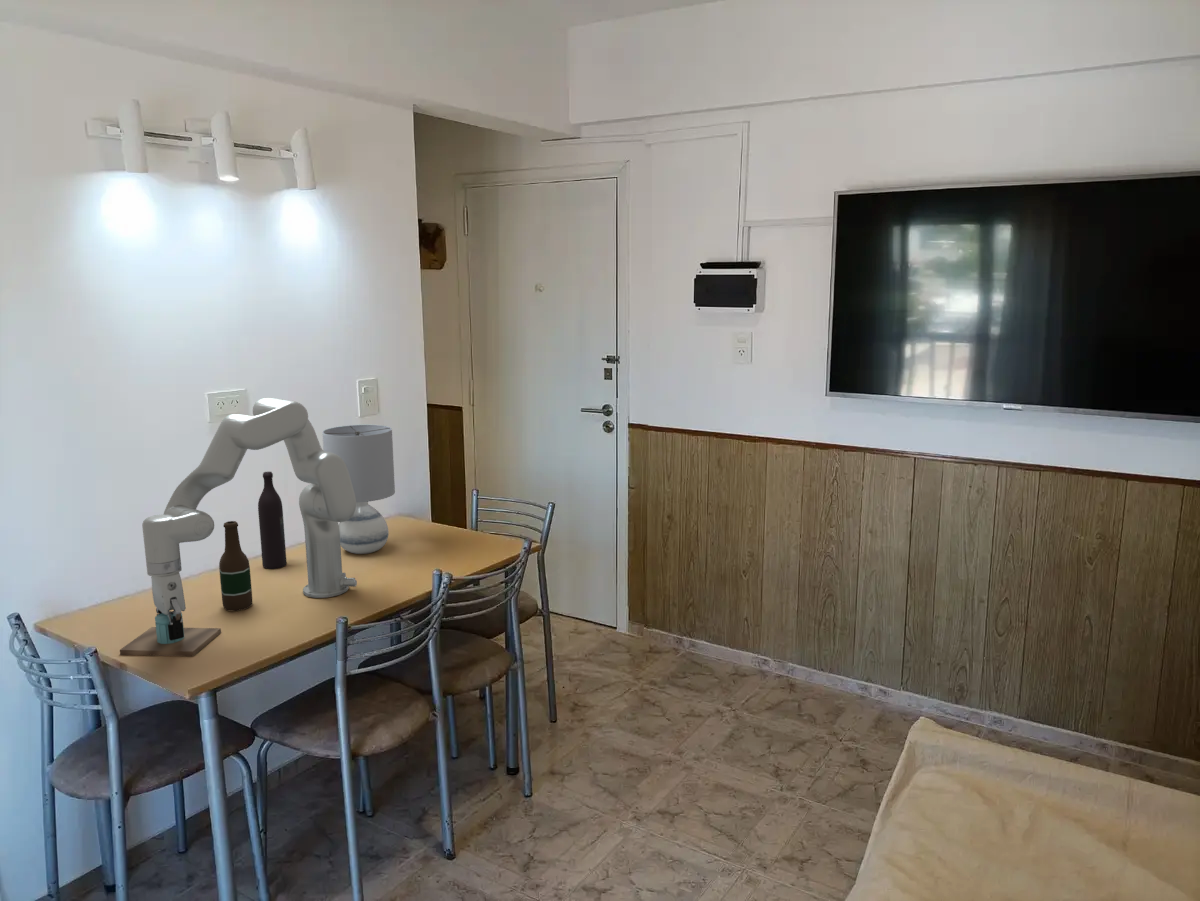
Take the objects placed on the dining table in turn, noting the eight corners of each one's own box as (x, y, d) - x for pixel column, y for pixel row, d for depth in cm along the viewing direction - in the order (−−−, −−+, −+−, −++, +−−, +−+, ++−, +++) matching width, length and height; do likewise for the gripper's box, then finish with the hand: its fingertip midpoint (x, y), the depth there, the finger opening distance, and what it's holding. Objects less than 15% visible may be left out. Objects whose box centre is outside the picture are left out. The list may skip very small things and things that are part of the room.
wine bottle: (287, 567, 272) (280, 473, 266) (262, 570, 270) (255, 475, 264) (286, 561, 279) (279, 469, 273) (262, 563, 276) (255, 471, 270)
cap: (188, 634, 219) (186, 611, 218) (176, 644, 213) (174, 620, 212) (165, 633, 219) (163, 611, 218) (152, 643, 213) (149, 620, 212)
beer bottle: (234, 613, 235) (226, 527, 231) (216, 607, 239) (208, 523, 235) (259, 604, 242) (252, 520, 237) (241, 599, 246) (234, 516, 241)
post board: (221, 632, 223) (219, 611, 222) (193, 656, 209) (191, 633, 208) (152, 631, 224) (149, 609, 223) (120, 654, 210) (117, 631, 209)
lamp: (315, 553, 286) (307, 432, 278) (365, 536, 304) (359, 422, 296) (362, 564, 275) (355, 438, 267) (411, 546, 293) (406, 428, 285)
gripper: (192, 571, 209) (198, 639, 212) (169, 554, 221) (175, 619, 225) (158, 578, 204) (165, 648, 207) (137, 560, 216) (144, 627, 220)
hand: (170, 633), depth 216 cm, fingers open, 8 cm apart
